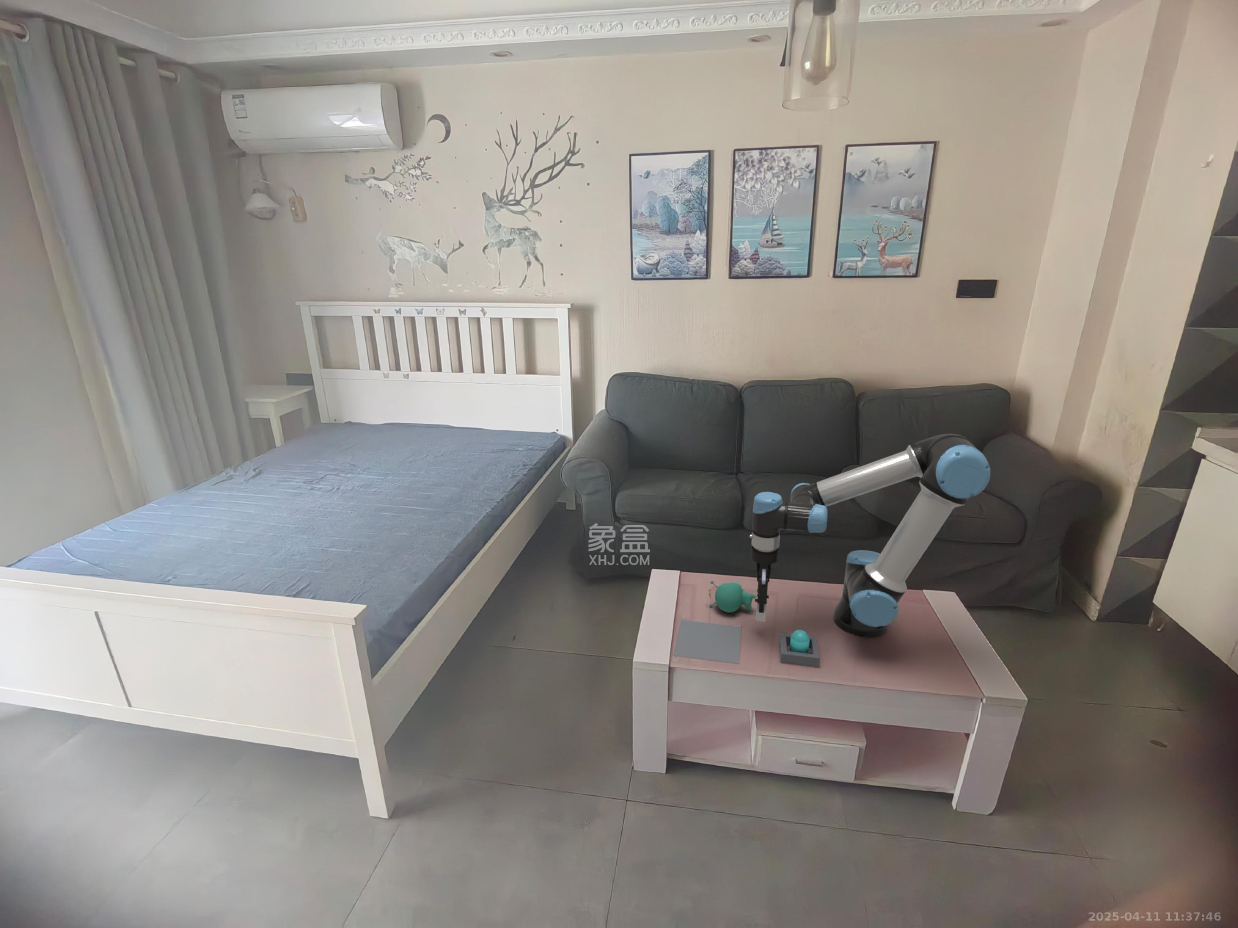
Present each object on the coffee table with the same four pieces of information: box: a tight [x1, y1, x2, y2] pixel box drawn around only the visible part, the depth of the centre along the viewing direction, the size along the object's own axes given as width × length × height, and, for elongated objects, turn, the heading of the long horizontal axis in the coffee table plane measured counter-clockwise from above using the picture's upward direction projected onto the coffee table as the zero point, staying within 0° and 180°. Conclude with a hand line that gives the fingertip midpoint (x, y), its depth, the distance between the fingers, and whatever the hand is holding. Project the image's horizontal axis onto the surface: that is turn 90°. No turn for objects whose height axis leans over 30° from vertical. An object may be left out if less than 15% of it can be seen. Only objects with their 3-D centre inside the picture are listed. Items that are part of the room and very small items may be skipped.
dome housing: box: [779, 632, 821, 668], centre depth 170 cm, size 10×10×3 cm
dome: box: [789, 629, 810, 654], centre depth 170 cm, size 5×5×7 cm
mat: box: [673, 619, 742, 665], centre depth 177 cm, size 18×18×1 cm
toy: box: [707, 580, 758, 614], centre depth 192 cm, size 10×10×15 cm
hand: (760, 619), depth 179 cm, fingers closed
